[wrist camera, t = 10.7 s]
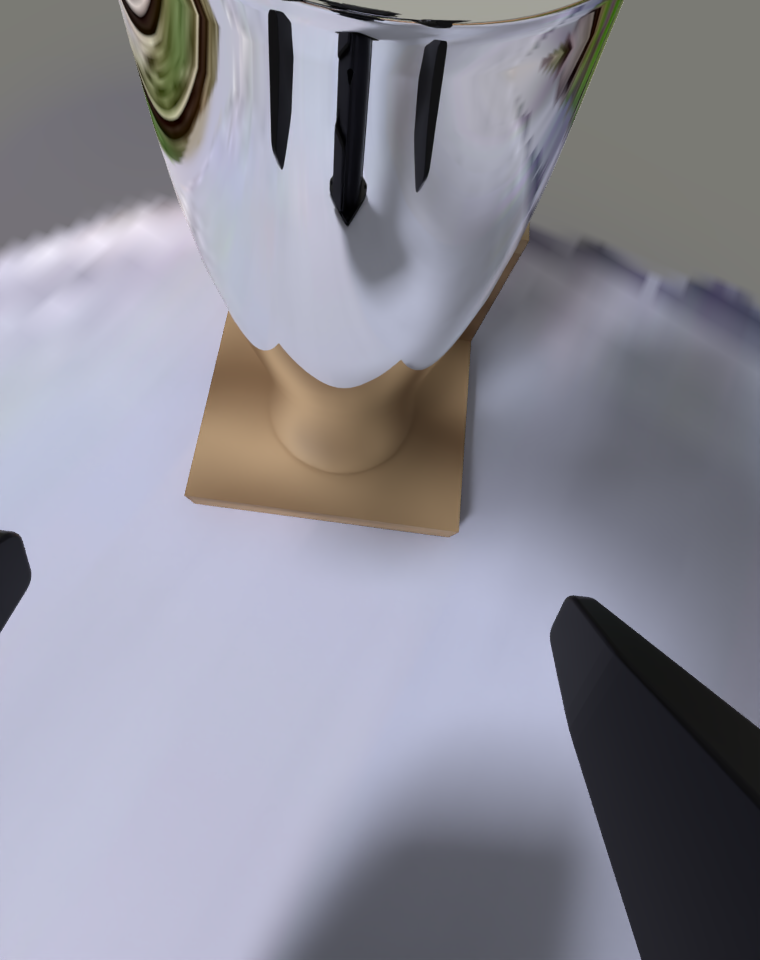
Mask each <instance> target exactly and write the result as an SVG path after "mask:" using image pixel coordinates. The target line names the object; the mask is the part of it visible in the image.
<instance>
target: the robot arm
mask: <svg viewBox="0 0 760 960" xmlns="http://www.w3.org/2000/svg"><path fill="white" fill-rule="evenodd" d="M30 581H31V569H30V565H29V562H28V558H27V555H26V551H25V548H24V544H23V541H22V538H21V537H20V536H19V535H18V534H17V533H15V532H12V531H4V530H0V632H1V631H2V629H3V628H4V626H5V624H6V623H7V621H8V619H9V618H10V616H11V614H12V613H13V611H14V610H15V608H16V606H17V605H18V603H19V601H20V600H21V598H22V597H23V595H24V593H25V592H26V590H27V588H28V586H29V584H30ZM550 642H551V648H552V652H553V657H554V662H555V667H556V672H557V676H558V681H559V686H560V691H561V695H562V700H563V705H564V710H565V715H566V719H567V723H568V727H569V731H570V734H571V738H572V741H573V744H574V748H575V751H576V754H577V757H578V760H579V763H580V767H581V770H582V773H583V776H584V779H585V782H586V786H587V789H588V792H589V795H590V798H591V801H592V805H593V808H594V811H595V814H596V817H597V820H598V824H599V827H600V830H601V833H602V836H603V839H604V843H605V846H606V849H607V852H608V855H609V858H610V862H611V865H612V868H613V871H614V874H615V877H616V881H617V884H618V887H619V890H620V893H621V897H622V900H623V903H624V906H625V909H626V912H627V916H628V919H629V922H630V925H631V928H632V931H633V935H634V938H635V941H636V944H637V947H638V950H639V954H640V957H641V960H760V729H759V728H758V727H757V726H755V725H754V724H753V723H752V722H750V721H749V720H748V719H747V718H745V717H744V716H743V715H741V714H740V713H739V712H738V711H736V710H735V709H734V708H733V707H731V706H730V705H729V704H727V703H726V702H725V701H724V700H722V699H721V698H720V697H719V696H717V695H716V694H715V693H713V692H712V691H711V690H710V689H708V688H707V687H706V686H705V685H703V684H702V683H701V682H699V681H698V680H697V679H696V678H694V677H693V676H692V675H691V674H689V673H688V672H687V671H685V670H684V669H683V668H682V667H680V666H679V665H678V664H677V663H675V662H674V661H673V660H671V659H670V658H669V657H668V656H666V655H665V654H664V653H663V652H661V651H660V650H659V649H657V648H656V647H655V646H654V645H652V644H651V643H650V642H649V641H647V640H646V639H645V638H643V637H642V636H641V635H640V634H638V633H637V632H636V631H635V630H633V629H632V628H631V627H629V626H628V625H627V624H626V623H624V622H623V621H622V620H621V619H619V618H618V617H617V616H615V615H614V614H613V613H612V612H610V611H609V610H608V609H607V608H605V607H604V606H603V605H601V604H600V603H599V602H598V601H596V600H595V599H593V598H590V597H583V596H574V595H573V596H569V597H567V598H566V599H565V601H564V602H563V604H562V607H561V609H560V611H559V613H558V615H557V617H556V619H555V621H554V623H553V625H552V628H551V632H550Z"/></svg>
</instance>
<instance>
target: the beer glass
mask: <svg viewBox="0 0 760 960" xmlns="http://www.w3.org/2000/svg"><path fill="white" fill-rule="evenodd" d="M623 2H624V0H119V4H120V8H121V12H122V15H123V19H124V23H125V26H126V30H127V34H128V38H129V42H130V45H131V49H132V52H133V56H134V59H135V63H136V66H137V70H138V73H139V77H140V80H141V84H142V87H143V91H144V94H145V98H146V101H147V105H148V108H149V111H150V115H151V119H152V122H153V125H154V129H155V132H156V135H157V138H158V141H159V144H160V147H161V150H162V153H163V156H164V159H165V162H166V165H167V168H168V171H169V174H170V177H171V180H172V183H173V186H174V189H175V192H176V195H177V198H178V201H179V204H180V207H181V209H182V212H183V214H184V217H185V219H186V222H187V224H188V227H189V229H190V232H191V234H192V236H193V239H194V241H195V244H196V246H197V249H198V251H199V254H200V256H201V259H202V261H203V263H204V266H205V268H206V270H207V272H208V274H209V276H210V277H211V279H212V281H213V283H214V285H215V287H216V289H217V290H218V292H219V294H220V296H221V298H222V300H223V301H224V303H225V305H226V307H227V309H228V311H229V312H230V314H231V316H232V318H233V319H234V321H235V323H236V324H237V326H238V327H239V329H240V330H241V332H242V333H243V335H244V337H245V338H246V340H247V341H248V343H249V344H250V346H251V348H252V349H253V351H254V352H255V354H256V355H257V357H258V358H259V360H260V361H261V363H262V364H263V366H264V367H265V369H266V370H267V372H268V374H269V375H270V378H271V381H270V389H269V414H270V419H271V423H272V426H273V428H274V431H275V433H276V435H277V437H278V438H279V440H280V441H281V443H282V444H283V445H284V447H285V448H286V449H287V450H288V451H289V452H290V453H291V454H292V455H294V456H295V457H296V458H297V459H299V460H300V461H302V462H303V463H305V464H307V465H309V466H311V467H313V468H316V469H319V470H322V471H326V472H331V473H344V474H345V473H356V472H361V471H365V470H368V469H371V468H373V467H375V466H377V465H379V464H381V463H383V462H384V461H386V460H387V459H389V458H390V457H391V456H392V455H393V454H394V453H395V452H396V451H397V450H398V449H399V448H400V447H401V445H402V444H403V443H404V441H405V439H406V438H407V436H408V433H409V431H410V428H411V425H412V422H413V417H414V408H415V390H416V388H417V387H418V386H419V385H420V383H421V382H422V381H423V380H424V379H425V377H426V376H427V375H428V374H429V373H430V372H431V371H432V369H433V368H434V367H435V366H436V365H437V364H438V363H439V361H440V360H441V359H442V358H443V357H444V356H445V354H446V353H447V352H448V351H449V350H450V348H451V347H452V346H453V345H454V344H455V343H456V341H457V340H458V339H459V338H460V336H461V335H462V334H463V332H464V331H465V330H466V328H467V327H468V325H469V324H470V323H471V321H472V320H473V319H474V317H475V316H476V314H477V313H478V312H479V310H480V309H481V308H482V306H483V305H484V303H485V302H486V300H487V299H488V297H489V296H490V294H491V292H492V291H493V289H494V287H495V285H496V283H497V282H498V280H499V278H500V276H501V275H502V273H503V271H504V269H505V268H506V266H507V264H508V262H509V261H510V259H511V257H512V255H513V253H514V252H515V250H516V248H517V246H518V244H519V242H520V240H521V238H522V236H523V234H524V232H525V230H526V228H527V226H528V224H529V221H530V219H531V217H532V215H533V213H534V211H535V209H536V207H537V205H538V202H539V200H540V198H541V196H542V194H543V192H544V190H545V188H546V185H547V184H548V181H549V179H550V177H551V174H552V172H553V170H554V167H555V165H556V163H557V160H558V158H559V156H560V153H561V151H562V149H563V146H564V144H565V141H566V139H567V137H568V134H569V132H570V130H571V127H572V125H573V123H574V120H575V118H576V116H577V113H578V111H579V109H580V106H581V104H582V101H583V99H584V96H585V94H586V91H587V89H588V87H589V84H590V82H591V79H592V77H593V74H594V72H595V69H596V67H597V64H598V62H599V59H600V57H601V54H602V52H603V50H604V47H605V45H606V42H607V40H608V37H609V35H610V33H611V30H612V28H613V25H614V23H615V21H616V18H617V16H618V14H619V11H620V9H621V7H622V4H623Z"/></svg>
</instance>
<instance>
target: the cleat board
mask: <svg viewBox="0 0 760 960" xmlns="http://www.w3.org/2000/svg"><path fill="white" fill-rule="evenodd" d="M529 225H530V221H529V224H528V226H527V228H526V230H525V232H524V234H523V236H522V238H521V240H520V242H519V244H518V246H517V248H516V250H515V252H514V253H513V255H512V257H511V259H510V261H509V262H508V264H507V266H506V268H505V269H504V271H503V273H502V275H501V276H500V278H499V280H498V282H497V283H496V285H495V287H494V289H493V291H492V292H491V294H490V296H489V297H488V299H487V300H486V302H485V303H484V305H483V306H482V308H481V309H480V310H479V312H478V313H477V314H476V316H475V317H474V319H473V320H472V321H471V323H470V324H469V325H468V327H467V328H466V330H465V331H464V332H463V334H462V335H461V336H460V338H459V339H458V340H457V341H456V343H455V344H454V345H453V346H452V347H451V348H450V350H449V351H448V352H447V353H446V354H445V356H444V357H443V358H442V359H441V360H440V361H439V363H438V364H437V365H436V366H435V367H434V368H433V369H432V371H431V372H430V373H429V374H428V375H427V376H426V377H425V379H424V380H423V381H422V382H421V383H420V385H419V386H418V387H417V388H416V390H415V408H414V417H413V422H412V425H411V428H410V431H409V433H408V436H407V438H406V439H405V441H404V443H403V444H402V445H401V447H400V448H399V449H398V450H397V451H396V452H395V453H394V454H393V455H392V456H391V457H390V458H389V459H387V460H386V461H384V462H383V463H381V464H379V465H377V466H375V467H373V468H371V469H368V470H365V471H361V472H356V473H345V474H344V473H331V472H326V471H322V470H319V469H316V468H313V467H311V466H309V465H307V464H305V463H303V462H302V461H300V460H299V459H297V458H296V457H295V456H294V455H292V454H291V453H290V452H289V451H288V450H287V449H286V448H285V447H284V445H283V444H282V443H281V441H280V440H279V438H278V437H277V435H276V433H275V431H274V428H273V426H272V423H271V419H270V414H269V389H270V381H271V378H270V375H269V374H268V372H267V370H266V369H265V367H264V366H263V364H262V363H261V361H260V360H259V358H258V357H257V355H256V354H255V352H254V351H253V349H252V348H251V346H250V344H249V343H248V341H247V340H246V338H245V337H244V335H243V333H242V332H241V330H240V329H239V327H238V326H237V324H236V323H235V321H234V319H233V318H232V316H231V314H230V312H229V311H228V314H227V318H226V322H225V327H224V331H223V335H222V339H221V343H220V348H219V352H218V356H217V360H216V364H215V369H214V373H213V377H212V381H211V385H210V390H209V394H208V398H207V402H206V407H205V411H204V415H203V419H202V423H201V428H200V432H199V436H198V440H197V444H196V449H195V453H194V457H193V461H192V465H191V470H190V474H189V478H188V482H187V486H186V491H185V495H184V496H186V497H187V498H188V499H190V500H191V501H192V502H193V503H195V504H203V505H210V506H218V507H225V508H233V509H240V510H248V511H255V512H263V513H270V514H278V515H285V516H293V517H300V518H308V519H315V520H323V521H330V522H338V523H345V524H353V525H361V526H368V527H376V528H383V529H391V530H398V531H406V532H413V533H421V534H428V535H436V536H443V537H450V536H452V535H454V534H456V533H458V532H459V519H460V503H461V488H462V472H463V457H464V442H465V426H466V411H467V395H468V380H469V364H470V349H471V341H472V339H473V337H474V335H475V334H476V332H477V330H478V328H479V327H480V325H481V323H482V321H483V320H484V318H485V316H486V315H487V313H488V311H489V309H490V308H491V306H492V304H493V302H494V301H495V299H496V297H497V296H498V294H499V292H500V290H501V289H502V287H503V285H504V283H505V282H506V280H507V278H508V276H509V275H510V273H511V271H512V270H513V268H514V266H515V264H516V263H517V261H518V259H519V257H520V256H521V254H522V252H523V251H524V249H525V247H526V245H527V244H528V242H529Z"/></svg>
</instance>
